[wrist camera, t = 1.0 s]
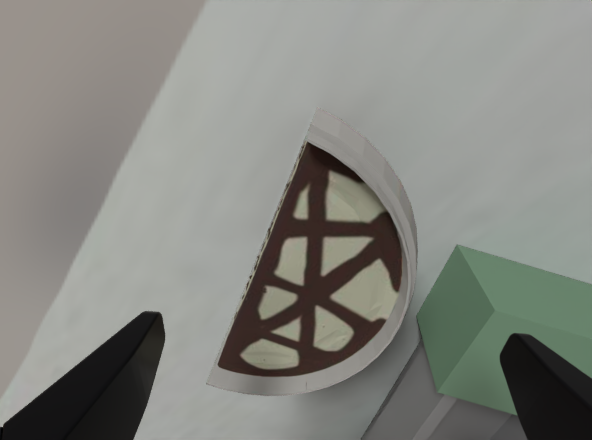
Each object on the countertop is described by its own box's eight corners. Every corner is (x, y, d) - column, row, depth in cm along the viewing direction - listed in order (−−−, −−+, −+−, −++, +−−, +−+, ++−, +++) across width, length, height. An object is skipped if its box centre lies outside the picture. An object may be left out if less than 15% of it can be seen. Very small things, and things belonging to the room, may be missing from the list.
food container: (337, 295, 24) (334, 440, 15) (254, 263, 24) (202, 391, 15) (433, 129, 19) (515, 204, 10) (326, 83, 18) (312, 119, 9)
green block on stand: (642, 299, 22) (740, 382, 16) (476, 474, 31) (503, 563, 26) (457, 244, 21) (495, 310, 16) (346, 437, 31) (347, 519, 26)
